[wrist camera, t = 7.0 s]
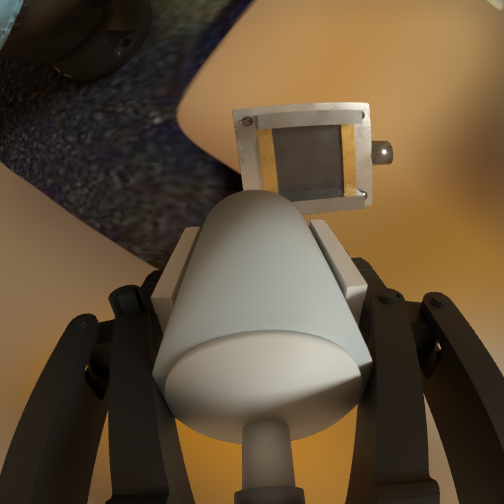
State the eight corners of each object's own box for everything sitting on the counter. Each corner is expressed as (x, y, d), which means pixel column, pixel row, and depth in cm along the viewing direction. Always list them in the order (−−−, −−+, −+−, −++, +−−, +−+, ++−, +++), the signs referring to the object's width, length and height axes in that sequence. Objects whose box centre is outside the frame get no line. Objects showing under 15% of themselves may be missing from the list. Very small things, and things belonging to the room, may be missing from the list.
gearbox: (247, 210, 37) (247, 229, 31) (233, 111, 31) (230, 109, 25) (382, 196, 36) (404, 212, 30) (379, 104, 30) (404, 104, 24)
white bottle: (194, 193, 14) (66, 433, 3) (308, 187, 14) (464, 410, 3) (208, 289, 17) (173, 512, 5) (306, 284, 17) (365, 500, 5)
